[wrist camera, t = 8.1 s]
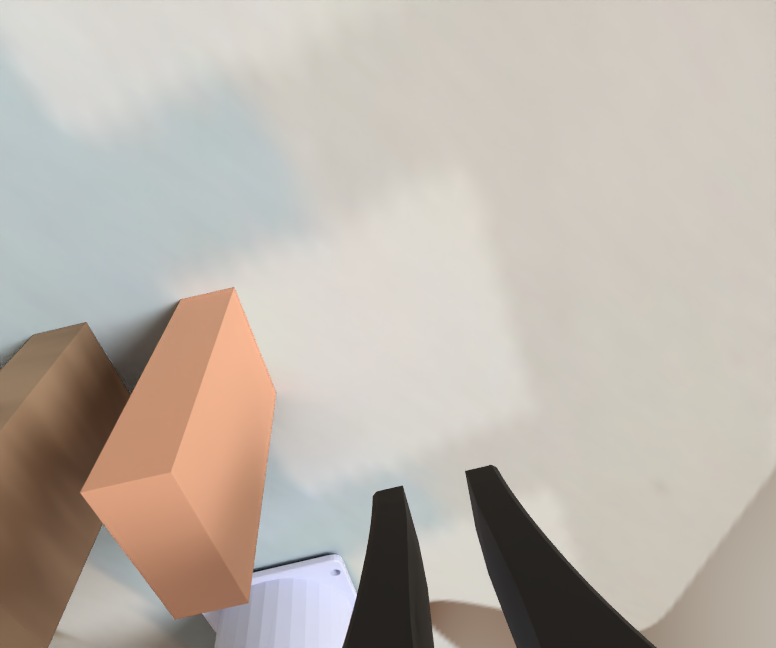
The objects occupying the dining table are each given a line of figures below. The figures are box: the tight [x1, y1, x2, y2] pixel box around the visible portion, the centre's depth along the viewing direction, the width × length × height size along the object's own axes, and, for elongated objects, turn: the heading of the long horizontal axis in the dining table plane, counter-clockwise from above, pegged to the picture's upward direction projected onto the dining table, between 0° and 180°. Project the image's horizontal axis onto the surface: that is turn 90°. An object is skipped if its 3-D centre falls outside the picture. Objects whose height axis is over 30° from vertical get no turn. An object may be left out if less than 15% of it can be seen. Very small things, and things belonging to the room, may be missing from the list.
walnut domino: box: [0, 322, 131, 648], centre depth 16 cm, size 5×2×9 cm, turn 12°
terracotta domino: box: [80, 287, 276, 619], centre depth 16 cm, size 5×2×9 cm, turn 11°
